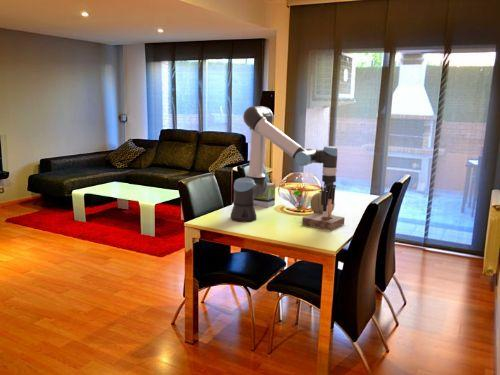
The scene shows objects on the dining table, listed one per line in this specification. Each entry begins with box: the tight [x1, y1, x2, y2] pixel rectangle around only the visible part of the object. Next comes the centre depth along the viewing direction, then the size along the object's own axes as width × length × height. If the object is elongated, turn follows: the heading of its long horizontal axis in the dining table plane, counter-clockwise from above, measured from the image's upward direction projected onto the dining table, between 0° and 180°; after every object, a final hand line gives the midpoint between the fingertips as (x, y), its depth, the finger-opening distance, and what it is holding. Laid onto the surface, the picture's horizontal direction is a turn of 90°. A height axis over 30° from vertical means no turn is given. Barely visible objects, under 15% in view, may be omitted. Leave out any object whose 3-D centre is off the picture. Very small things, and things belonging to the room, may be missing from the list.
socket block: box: [301, 212, 346, 231], centre depth 244 cm, size 18×16×4 cm
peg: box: [323, 199, 332, 220], centre depth 241 cm, size 4×4×12 cm
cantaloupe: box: [309, 190, 336, 213], centre depth 262 cm, size 15×15×15 cm
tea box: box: [254, 182, 276, 208], centre depth 287 cm, size 15×10×15 cm
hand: (327, 215), depth 242 cm, fingers closed on peg, 4 cm apart
